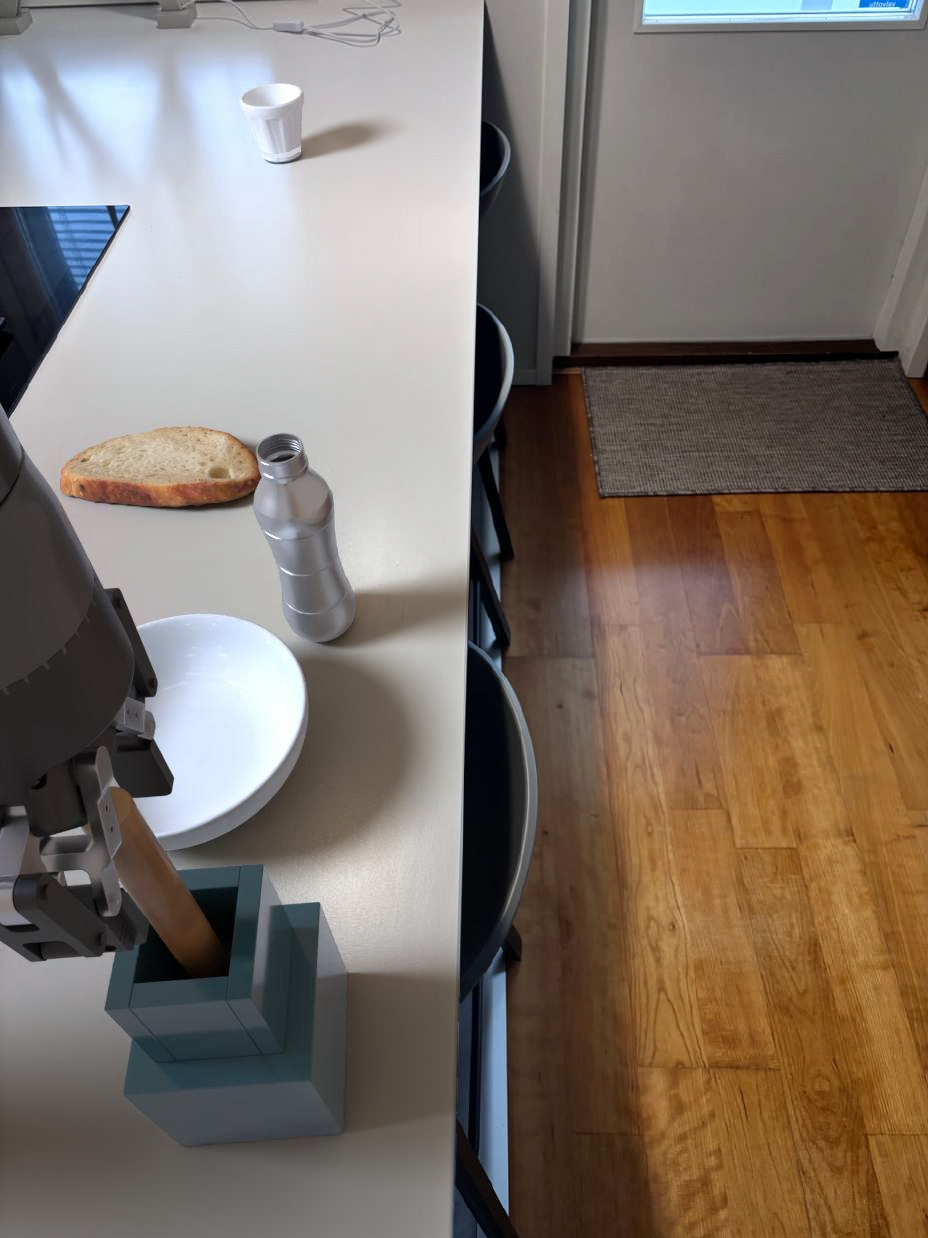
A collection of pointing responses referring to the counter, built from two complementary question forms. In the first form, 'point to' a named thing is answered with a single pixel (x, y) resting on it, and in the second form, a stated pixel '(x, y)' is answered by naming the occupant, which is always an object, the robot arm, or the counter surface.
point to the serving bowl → (220, 723)
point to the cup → (275, 118)
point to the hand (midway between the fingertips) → (138, 860)
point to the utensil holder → (237, 1020)
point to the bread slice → (163, 469)
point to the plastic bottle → (302, 540)
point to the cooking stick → (164, 894)
